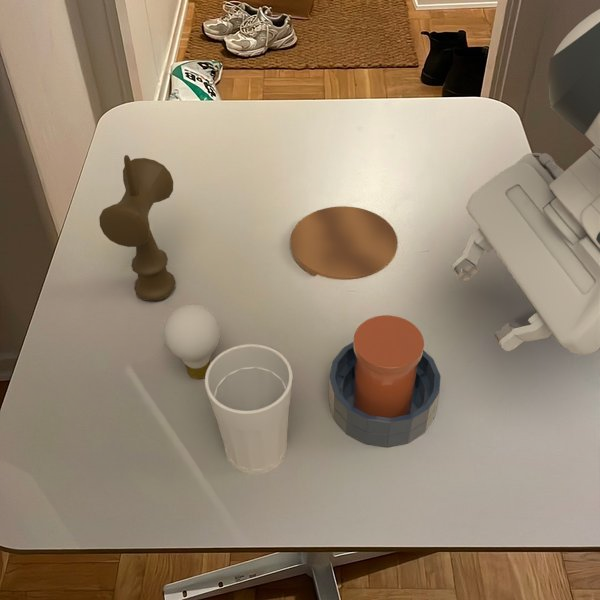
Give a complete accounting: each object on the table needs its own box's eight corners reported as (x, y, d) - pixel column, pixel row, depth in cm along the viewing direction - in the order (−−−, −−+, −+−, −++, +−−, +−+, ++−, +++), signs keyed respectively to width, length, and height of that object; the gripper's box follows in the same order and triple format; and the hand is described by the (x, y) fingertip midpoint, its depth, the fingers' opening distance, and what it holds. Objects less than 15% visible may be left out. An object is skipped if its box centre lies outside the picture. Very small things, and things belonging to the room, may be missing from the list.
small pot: (386, 367, 82) (393, 305, 75) (427, 408, 78) (438, 347, 71) (337, 395, 79) (339, 334, 72) (377, 439, 76) (383, 379, 68)
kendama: (189, 265, 95) (166, 132, 81) (167, 319, 88) (139, 185, 74) (144, 260, 96) (114, 127, 81) (120, 314, 89) (82, 180, 75)
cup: (202, 446, 76) (187, 373, 67) (263, 404, 80) (256, 330, 71) (249, 499, 72) (239, 429, 63) (311, 453, 75) (310, 380, 67)
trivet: (353, 199, 104) (354, 193, 103) (419, 254, 96) (419, 248, 95) (270, 237, 99) (270, 231, 98) (331, 298, 90) (332, 292, 90)
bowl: (389, 349, 85) (392, 320, 81) (456, 415, 78) (463, 387, 75) (309, 394, 80) (309, 365, 77) (373, 468, 74) (376, 441, 70)
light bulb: (235, 363, 84) (228, 302, 76) (209, 402, 80) (199, 342, 73) (190, 347, 85) (179, 286, 78) (163, 384, 82) (148, 324, 74)
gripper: (523, 128, 70) (417, 226, 75) (651, 271, 56) (510, 379, 62) (554, 158, 74) (451, 249, 79) (681, 299, 60) (546, 398, 66)
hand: (478, 307), depth 70 cm, fingers open, 8 cm apart
